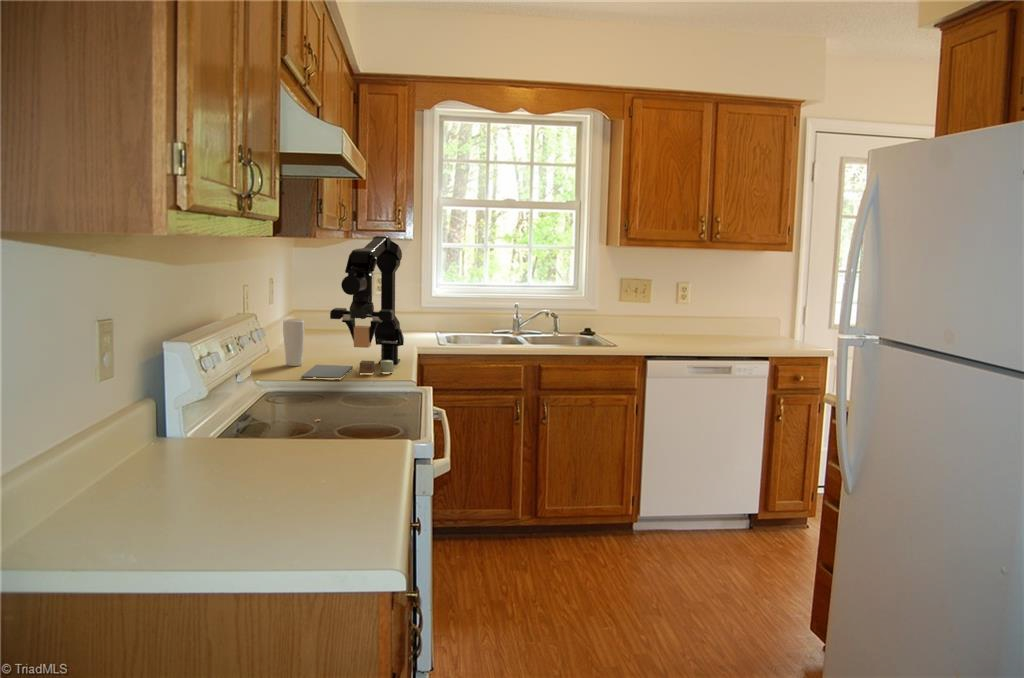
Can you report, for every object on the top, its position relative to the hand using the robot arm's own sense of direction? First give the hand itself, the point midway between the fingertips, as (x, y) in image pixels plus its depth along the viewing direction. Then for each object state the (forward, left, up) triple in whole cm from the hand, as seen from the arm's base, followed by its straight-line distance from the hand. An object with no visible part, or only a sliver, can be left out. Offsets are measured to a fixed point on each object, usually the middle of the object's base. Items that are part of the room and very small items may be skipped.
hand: (362, 342), depth 243 cm
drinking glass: (-17, -26, -12) cm, 33 cm away
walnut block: (-7, 0, -12) cm, 13 cm away
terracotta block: (0, 0, -1) cm, 1 cm away
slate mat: (-5, -12, -11) cm, 17 cm away
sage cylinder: (-9, +6, -12) cm, 16 cm away
